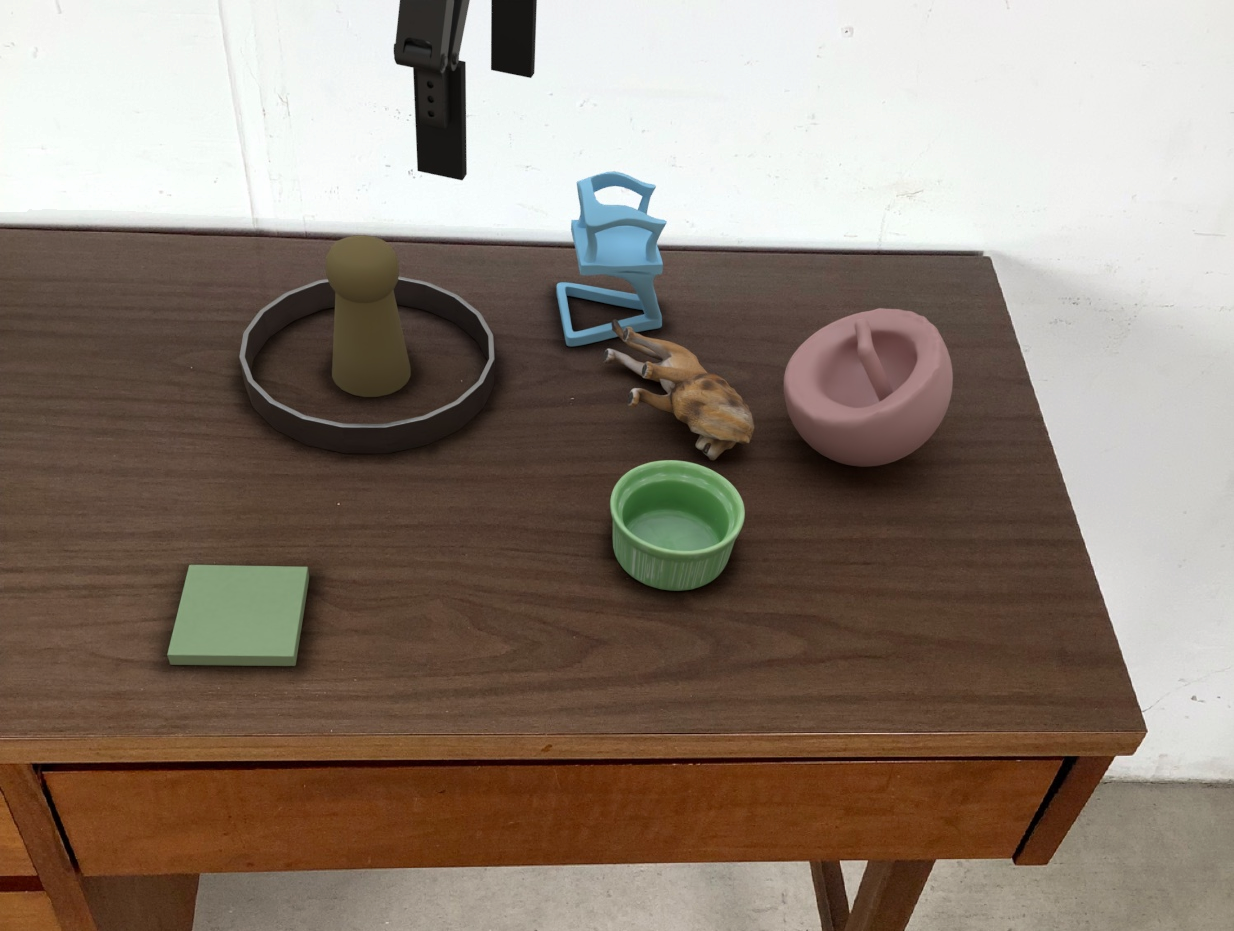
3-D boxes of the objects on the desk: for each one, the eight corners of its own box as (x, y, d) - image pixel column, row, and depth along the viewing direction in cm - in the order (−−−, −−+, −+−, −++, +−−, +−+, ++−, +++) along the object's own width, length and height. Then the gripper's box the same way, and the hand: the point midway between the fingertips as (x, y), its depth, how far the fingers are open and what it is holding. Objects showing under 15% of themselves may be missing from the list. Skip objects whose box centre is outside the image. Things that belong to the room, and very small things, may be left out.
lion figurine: (633, 452, 87) (743, 474, 90) (660, 390, 84) (774, 415, 87) (595, 346, 97) (695, 369, 101) (618, 287, 94) (721, 313, 98)
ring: (203, 423, 89) (196, 395, 87) (302, 282, 101) (299, 256, 99) (450, 476, 87) (450, 450, 85) (521, 327, 99) (522, 301, 97)
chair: (667, 345, 99) (685, 212, 90) (565, 347, 98) (573, 212, 89) (652, 290, 104) (667, 159, 95) (555, 291, 103) (562, 158, 94)
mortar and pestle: (758, 395, 96) (785, 269, 87) (905, 396, 97) (945, 272, 89) (786, 500, 88) (818, 373, 80) (944, 500, 90) (993, 375, 81)
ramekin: (756, 583, 83) (767, 538, 79) (632, 611, 80) (638, 565, 77) (705, 495, 88) (713, 449, 85) (587, 518, 85) (591, 472, 82)
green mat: (170, 665, 74) (166, 654, 73) (191, 574, 79) (189, 564, 78) (295, 666, 75) (293, 656, 74) (309, 576, 80) (307, 566, 79)
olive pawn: (425, 382, 94) (419, 257, 85) (353, 406, 91) (340, 279, 83) (388, 339, 97) (379, 215, 89) (318, 362, 94) (302, 235, 86)
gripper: (470, -223, 50) (473, 237, 66) (617, -347, 66) (591, 46, 82) (297, -254, 51) (342, 208, 67) (485, -369, 67) (484, 25, 83)
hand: (479, 119), depth 74 cm, fingers open, 13 cm apart
